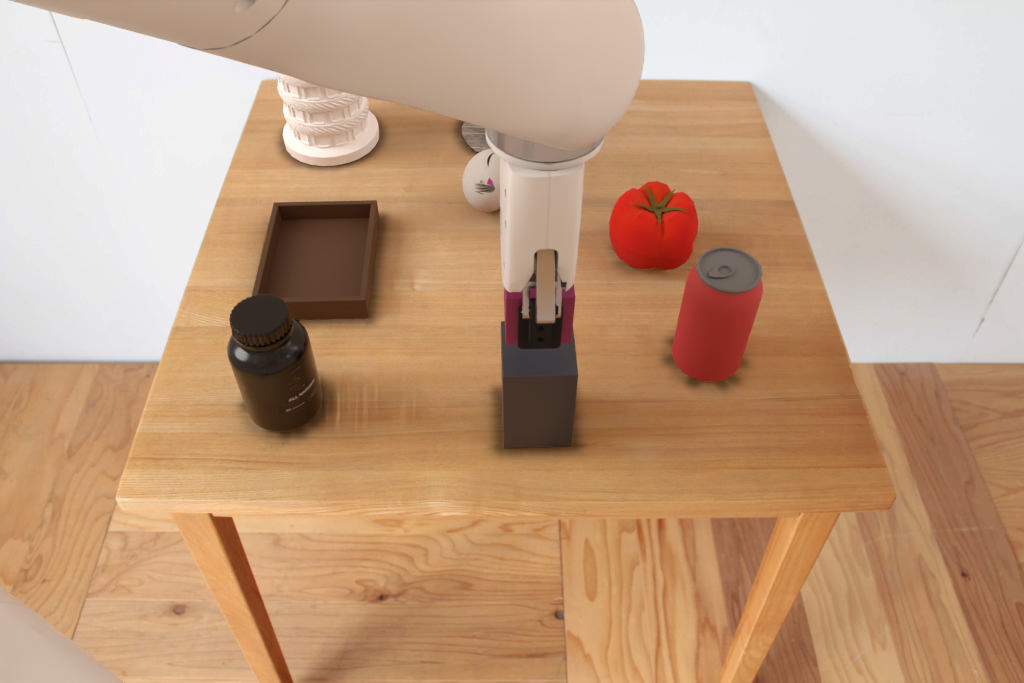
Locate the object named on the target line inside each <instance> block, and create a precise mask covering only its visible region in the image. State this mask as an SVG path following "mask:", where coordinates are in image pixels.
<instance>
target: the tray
mask: <svg viewBox="0 0 1024 683" xmlns="http://www.w3.org/2000/svg"><path fill="white" fill-rule="evenodd" d="M267 225H268V226H267V229H266V234H265V238H264V243H263V247H262V251H261V255H260V258H259V263H258V268H257V271H256V275H255V276H256V277H255V280H254V284H253V288H252V293H251V296H254V295H258V294H260V295H262V294H266V295H267V294H270V295H275V296H276V297H279V298H280V299H283V301H284V302H286V304H287V306H288V307H289V311H290V314H291V316H292V318H294V319H296V320H297V321H299V320H300V321H303V320H305V321H307V320H343V319H345V320H346V319H369V317H370V309H371V302H372V293H373V292H372V291H373V290H372V289H373V282H374V273H375V264H376V256H377V254H376V253H377V244H378V236H379V226H380V213H379V206H378V200H377V199H374V200H373V199H372V200H369V199H368V200H324V201H323V200H322V201H321V200H320V201H278V202H276V201H275V202H273V204H272V208H271V212H270V217H269V221H268V224H267Z"/></svg>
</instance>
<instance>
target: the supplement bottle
mask: <svg viewBox="0 0 1024 683" xmlns="http://www.w3.org/2000/svg"><path fill="white" fill-rule="evenodd" d="M230 312H231V313H230V314H229V319H228V320H229V326H230V330H231V335H230V337H229V339H228V342H227V347H226V354H227V358H228V361H229V365H230V368H231V370H232V372H233V376H234V379H235V381H236V384H237V386H238V389H239V392H240V395H241V398H242V400H243V404H244V406H245V410H246V411H247V414H248V416H249V417H250V419H251V421H252V422H253V424H255V425H256V426H257V427H259V428H261V429H263V430H265V431H268V432H271V433H287V432H293V431H296V430H298V429H299V430H300V428H303V427H304V426H307V425H308V424H309V423H310V422H312V421H313V420H314V419H315V418H316V417H317V415H318V414H319V412H320V410H321V408H322V405H323V400H324V393H323V389H322V384H321V380H320V376H319V375H320V374H319V371H318V367H317V364H316V363H317V362H316V360H315V355H314V351H313V348H312V343H311V339H310V336H309V333H308V331H307V329H306V327H305V326H304V325H303V324H302V323H301V322H300V321H299V320H296V319H294V318H292V316H291V314H290V311H289V307H288V306H287V304H286V302H284V301H283V299H280V298H279V297H276V296H275V295H270V294H267V295H266V294H262V295H260V294H258V295H254V296H252V295H251V296H248V297H245V299H242V300H241V301H240V302H238V303H237V304H236V305H234V307H233V309H231V311H230Z"/></svg>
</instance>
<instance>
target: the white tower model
mask: <svg viewBox="0 0 1024 683" xmlns="http://www.w3.org/2000/svg"><path fill="white" fill-rule="evenodd" d="M274 73H275V75H276V76H277V92H278V94H279V96H280V98H281V100H282V101H283V105H282V108H283V109H282V112H283V113H282V114H283V116H284V119H285V121H286V123H285V124H284V126H283V130H282V138H283V143H284V146H285V149H286V152H288V154H289V155H290V156H291V157H292V158H294V159H295V160H297V161H299V162H301V163H303V164H306V165H310V166H317V167H318V166H319V167H333V166H335V167H336V166H341V165H344V164H349V163H352V162H354V161H357V160H360V159H362V158H363V157H364V156H366V155H368V154H369V153H370V152H371V151H372V150H373V149H374V148H375V147H376V145H377V144H378V141H379V140H380V127H379V122H378V119H377V117H376V115H375V114H373V112H371V111H370V103H369V101H370V99H369V98H368V97H363V96H359V95H354V94H350V93H346V92H341V91H337V90H333V89H329V88H325V87H322V86H318V85H315V84H311V83H308V82H305V81H302V80H299V79H297V78H294V77H291V76H288V75H284V74H281V73H277V72H274Z"/></svg>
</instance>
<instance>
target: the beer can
mask: <svg viewBox="0 0 1024 683" xmlns="http://www.w3.org/2000/svg"><path fill="white" fill-rule="evenodd" d="M762 277H763V269H762V266H761V264H760V262H759V261H758V260H757V259H756V257H754V256H753V255H752V254H750V253H749V252H747V251H745V250H743V249H740V248H737V247H732V246H717V247H712V248H709V249H707V250H705V251H703V252H702V253H701V254H700V255H699V256H698V258H697V260H696V263H695V264H694V265H693V266H692V268H691V269H690V271H689V273H688V274H687V278H686V281H685V286H684V290H683V295H682V300H681V303H680V308H679V313H678V318H677V322H676V327H675V331H674V336H673V340H672V345H671V357H672V359H673V362H674V364H675V366H676V367H677V368H678V369H679V370H680V371H681V372H682V373H683V374H684V375H686V376H688V377H690V378H691V379H693V380H697V381H699V382H703V383H704V382H705V383H717V382H721V381H726V380H727V379H730V377H733V376H734V375H735V374H736V373H737V372H738V370H739V369H740V368H741V365H742V361H743V358H744V355H745V352H746V349H747V346H748V342H749V340H750V336H751V334H752V333H751V332H752V330H753V326H754V323H755V320H756V316H757V314H758V310H759V308H760V305H761V301H762V298H763V295H764V294H763V293H764V284H763V280H762V279H763V278H762Z"/></svg>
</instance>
